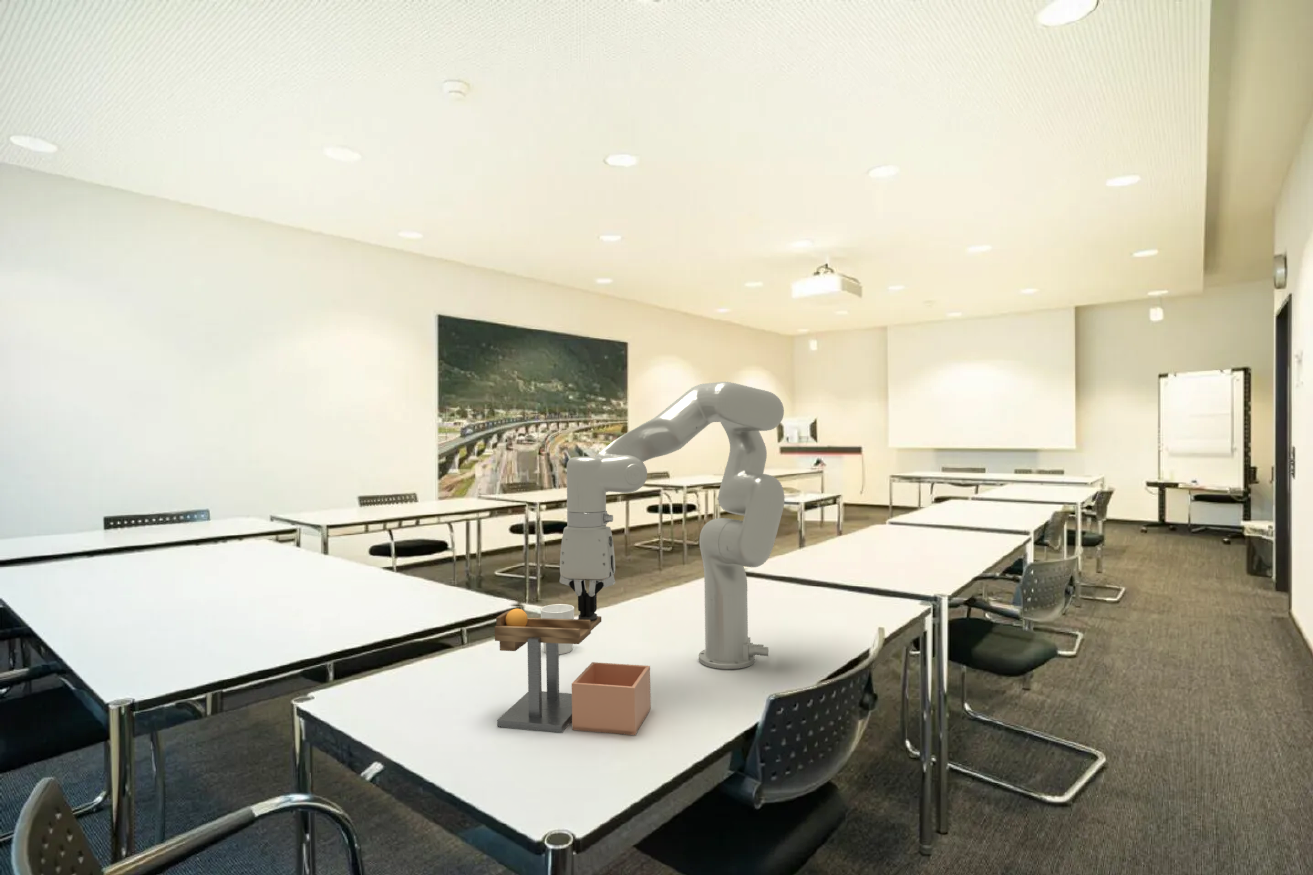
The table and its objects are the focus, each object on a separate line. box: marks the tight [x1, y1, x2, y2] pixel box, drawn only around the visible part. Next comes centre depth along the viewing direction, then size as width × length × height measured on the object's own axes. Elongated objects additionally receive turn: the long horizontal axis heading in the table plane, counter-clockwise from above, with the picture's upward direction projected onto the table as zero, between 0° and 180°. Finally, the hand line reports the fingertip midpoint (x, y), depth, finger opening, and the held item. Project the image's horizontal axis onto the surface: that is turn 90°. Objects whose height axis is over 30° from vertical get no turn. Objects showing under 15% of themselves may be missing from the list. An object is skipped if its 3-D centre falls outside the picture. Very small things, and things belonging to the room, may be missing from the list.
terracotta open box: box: [571, 661, 652, 736], centre depth 122 cm, size 11×11×8 cm
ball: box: [506, 608, 529, 627], centre depth 126 cm, size 4×4×4 cm
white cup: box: [540, 603, 575, 655], centre depth 162 cm, size 8×8×10 cm
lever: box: [493, 610, 602, 652], centre depth 129 cm, size 16×15×6 cm
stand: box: [496, 637, 572, 733], centre depth 125 cm, size 12×14×15 cm
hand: (587, 614), depth 132 cm, fingers closed
